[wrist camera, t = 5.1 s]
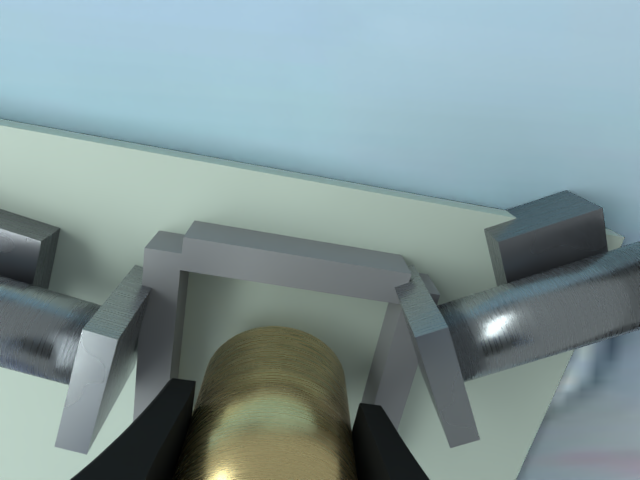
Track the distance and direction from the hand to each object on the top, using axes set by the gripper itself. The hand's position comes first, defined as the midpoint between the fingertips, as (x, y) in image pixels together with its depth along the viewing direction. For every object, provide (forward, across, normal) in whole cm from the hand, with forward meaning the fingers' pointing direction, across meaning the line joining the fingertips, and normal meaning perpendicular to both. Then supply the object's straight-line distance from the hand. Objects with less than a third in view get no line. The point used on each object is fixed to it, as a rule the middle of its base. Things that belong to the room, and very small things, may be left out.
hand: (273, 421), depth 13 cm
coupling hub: (+2, 0, 0) cm, 2 cm away
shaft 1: (+4, +8, -1) cm, 9 cm away
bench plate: (+4, 0, +1) cm, 4 cm away
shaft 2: (+4, -7, -4) cm, 9 cm away
